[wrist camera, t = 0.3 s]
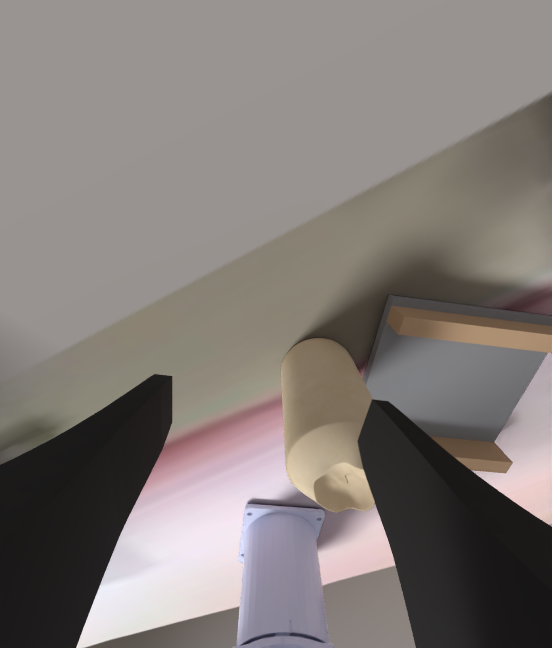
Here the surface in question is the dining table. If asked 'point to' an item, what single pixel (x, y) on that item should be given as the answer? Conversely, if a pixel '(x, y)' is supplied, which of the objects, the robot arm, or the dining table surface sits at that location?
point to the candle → (325, 424)
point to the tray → (457, 371)
